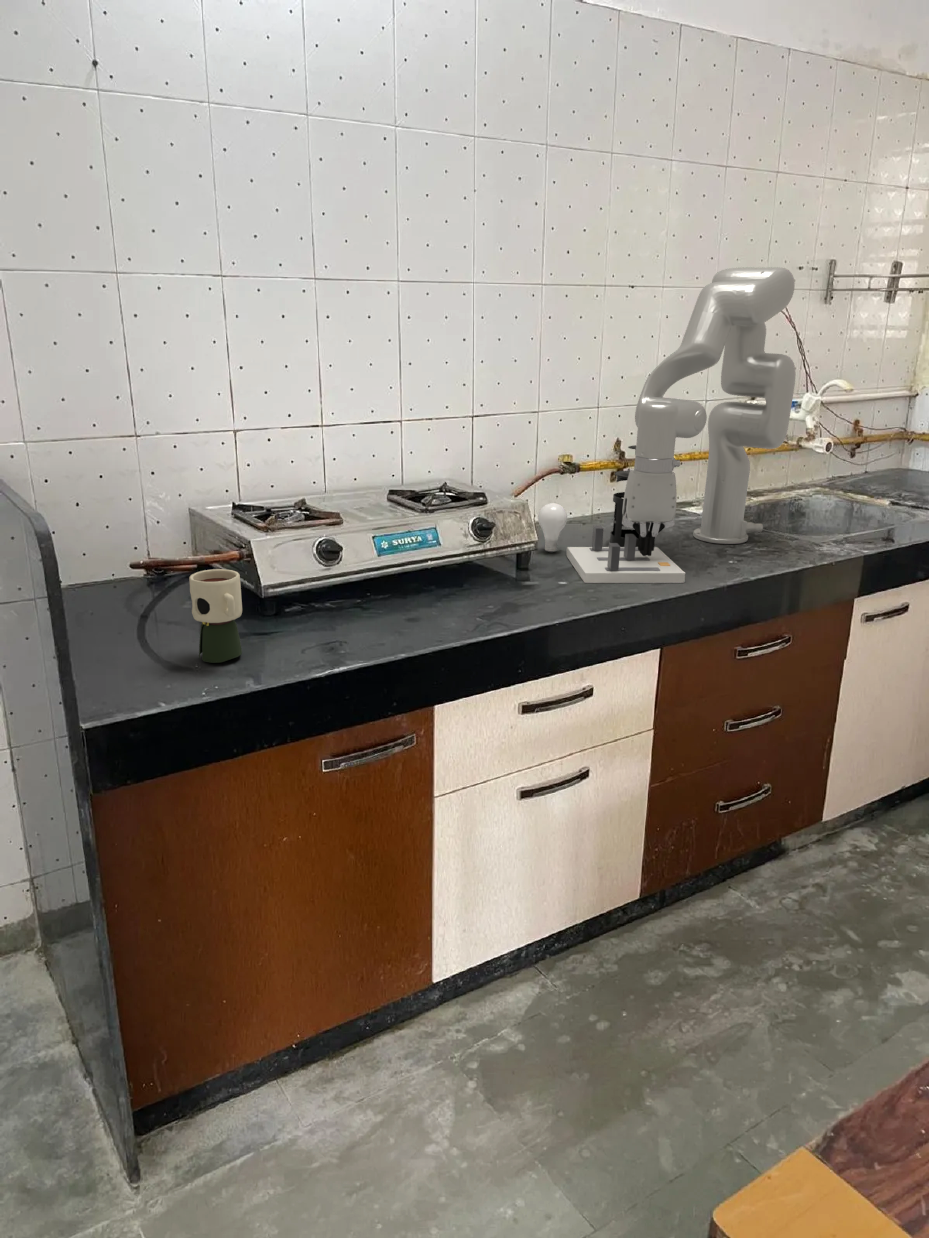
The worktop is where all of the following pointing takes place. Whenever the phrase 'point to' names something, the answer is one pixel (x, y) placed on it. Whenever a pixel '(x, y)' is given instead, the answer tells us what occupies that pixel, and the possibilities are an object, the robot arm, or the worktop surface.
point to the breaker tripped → (630, 546)
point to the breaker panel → (624, 567)
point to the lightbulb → (552, 524)
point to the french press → (618, 532)
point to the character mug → (217, 613)
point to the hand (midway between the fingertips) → (645, 554)
